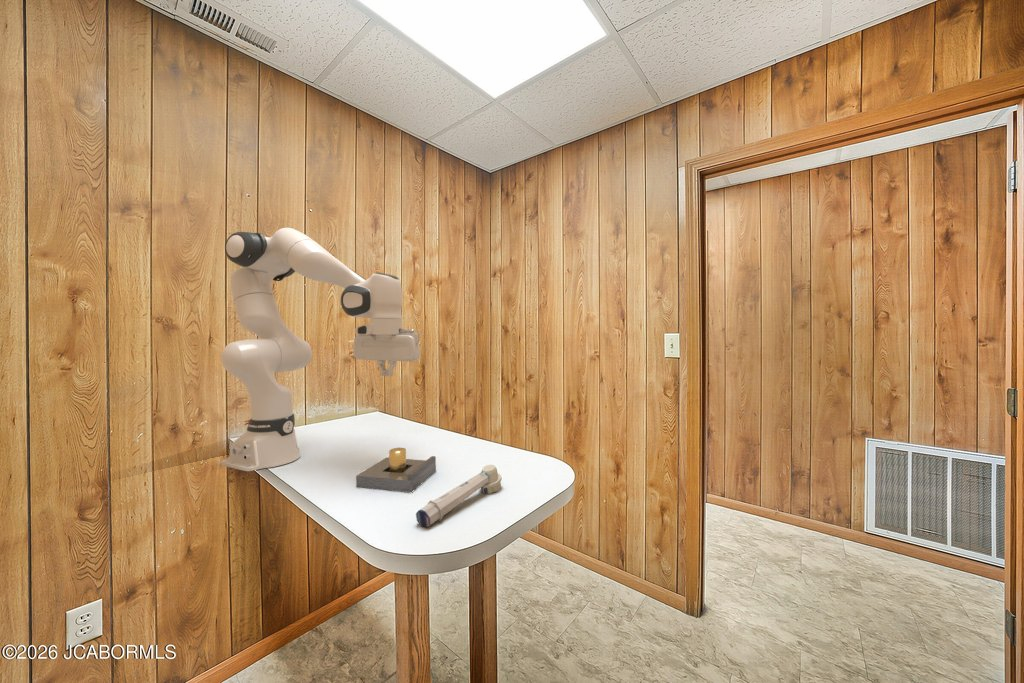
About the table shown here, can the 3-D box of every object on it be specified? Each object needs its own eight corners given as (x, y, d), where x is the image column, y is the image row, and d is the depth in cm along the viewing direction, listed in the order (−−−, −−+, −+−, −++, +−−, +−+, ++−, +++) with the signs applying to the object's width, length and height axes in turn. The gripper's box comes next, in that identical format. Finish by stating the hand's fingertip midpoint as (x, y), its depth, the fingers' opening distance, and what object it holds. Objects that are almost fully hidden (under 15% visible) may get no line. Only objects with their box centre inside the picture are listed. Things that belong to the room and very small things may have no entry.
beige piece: (412, 506, 78) (488, 457, 97) (416, 535, 78) (491, 480, 98) (429, 513, 74) (503, 460, 94) (433, 543, 75) (506, 485, 95)
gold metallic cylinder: (386, 481, 100) (386, 452, 99) (394, 474, 104) (394, 447, 103) (401, 482, 99) (401, 453, 98) (408, 476, 103) (408, 448, 103)
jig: (356, 486, 96) (355, 470, 96) (386, 467, 110) (386, 452, 110) (411, 492, 93) (411, 475, 93) (435, 471, 106) (435, 456, 106)
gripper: (424, 329, 108) (424, 375, 109) (363, 328, 113) (363, 373, 114) (413, 329, 102) (413, 378, 103) (349, 328, 107) (350, 375, 108)
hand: (386, 375), depth 108 cm, fingers closed
